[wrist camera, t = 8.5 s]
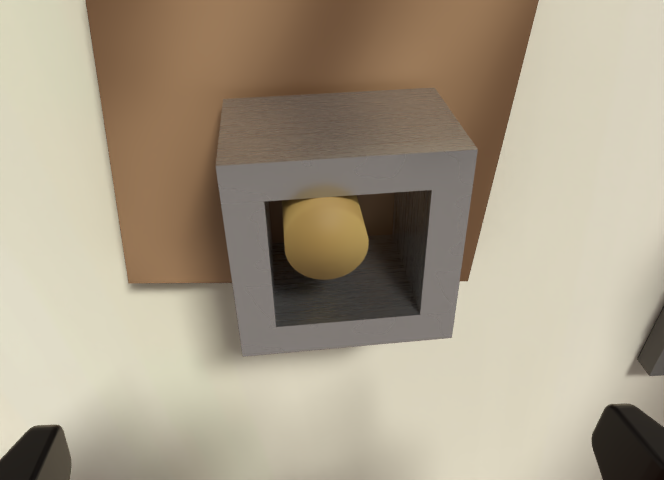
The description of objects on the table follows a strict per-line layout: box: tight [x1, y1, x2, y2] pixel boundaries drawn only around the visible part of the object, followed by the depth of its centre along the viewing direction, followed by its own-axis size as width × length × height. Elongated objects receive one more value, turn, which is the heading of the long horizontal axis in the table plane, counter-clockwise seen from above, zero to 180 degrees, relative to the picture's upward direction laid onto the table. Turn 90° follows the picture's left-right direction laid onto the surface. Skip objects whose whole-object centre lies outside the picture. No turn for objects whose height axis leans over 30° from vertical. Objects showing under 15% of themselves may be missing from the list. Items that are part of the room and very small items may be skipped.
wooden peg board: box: [86, 0, 539, 283], centre depth 17 cm, size 12×10×6 cm
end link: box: [216, 88, 478, 356], centre depth 17 cm, size 6×6×4 cm
